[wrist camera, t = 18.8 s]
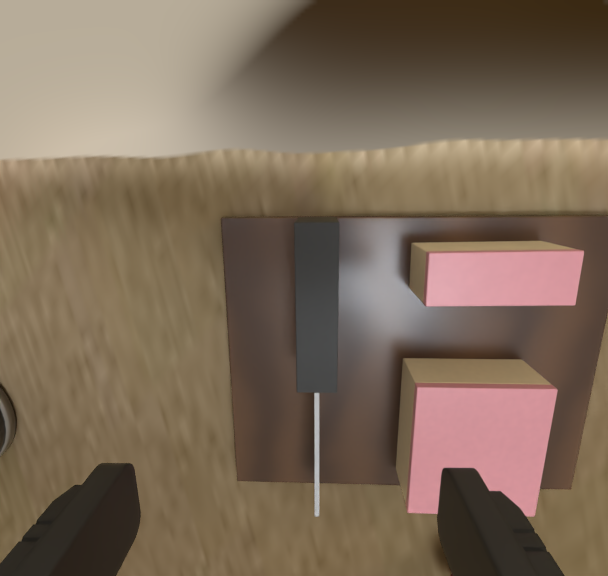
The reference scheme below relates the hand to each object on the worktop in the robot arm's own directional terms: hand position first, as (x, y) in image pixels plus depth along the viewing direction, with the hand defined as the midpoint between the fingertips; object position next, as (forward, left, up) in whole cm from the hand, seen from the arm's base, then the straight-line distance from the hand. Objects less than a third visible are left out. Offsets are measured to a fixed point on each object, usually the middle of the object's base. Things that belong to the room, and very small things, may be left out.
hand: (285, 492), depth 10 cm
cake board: (+7, -4, -17) cm, 19 cm away
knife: (+1, -4, -16) cm, 16 cm away
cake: (+11, -8, -16) cm, 21 cm away
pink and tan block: (+11, +3, -16) cm, 19 cm away
